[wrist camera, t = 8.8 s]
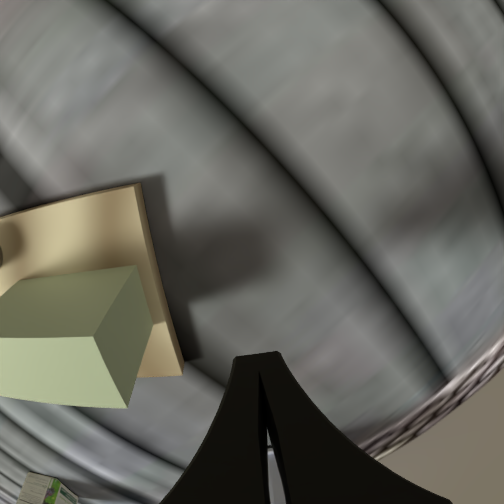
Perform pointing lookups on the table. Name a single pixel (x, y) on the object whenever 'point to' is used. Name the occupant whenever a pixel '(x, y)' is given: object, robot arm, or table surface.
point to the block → (74, 338)
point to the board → (93, 256)
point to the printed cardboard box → (45, 491)
